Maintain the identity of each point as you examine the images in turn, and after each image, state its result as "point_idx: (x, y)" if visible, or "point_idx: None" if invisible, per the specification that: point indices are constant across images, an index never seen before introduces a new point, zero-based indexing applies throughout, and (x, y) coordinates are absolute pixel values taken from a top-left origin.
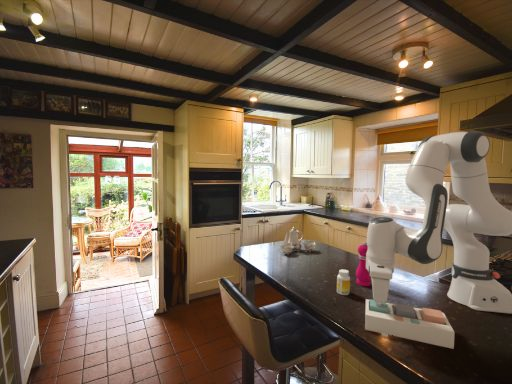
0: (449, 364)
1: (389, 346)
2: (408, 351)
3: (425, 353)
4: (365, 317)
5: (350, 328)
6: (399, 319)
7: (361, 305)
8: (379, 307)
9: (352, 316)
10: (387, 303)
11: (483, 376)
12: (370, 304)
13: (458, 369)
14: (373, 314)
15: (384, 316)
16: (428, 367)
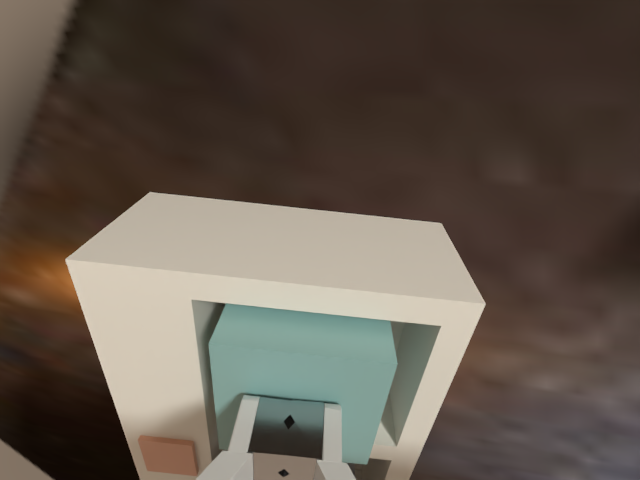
0: (83, 451)
1: (47, 301)
2: (68, 365)
3: (102, 412)
4: (120, 238)
5: (94, 67)
6: (148, 457)
7: (578, 203)
8: (216, 408)
9: (330, 99)
10: (411, 443)
11: None
12: (250, 349)
13: (72, 461)
14: (126, 325)
15: (145, 391)
16: (5, 398)
